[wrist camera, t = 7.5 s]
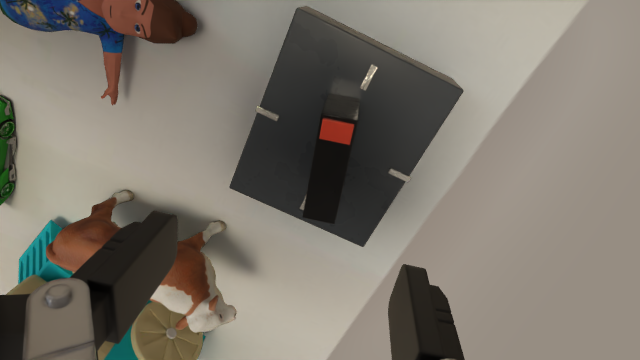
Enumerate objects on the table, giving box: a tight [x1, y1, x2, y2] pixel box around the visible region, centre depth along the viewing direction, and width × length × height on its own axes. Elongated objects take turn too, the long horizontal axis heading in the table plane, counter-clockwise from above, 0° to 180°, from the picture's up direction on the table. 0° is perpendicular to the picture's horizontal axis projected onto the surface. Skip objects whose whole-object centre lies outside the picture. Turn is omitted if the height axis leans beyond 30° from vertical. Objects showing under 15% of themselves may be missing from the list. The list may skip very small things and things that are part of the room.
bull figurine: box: [46, 190, 236, 333], centre depth 27 cm, size 4×13×8 cm, turn 67°
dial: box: [303, 93, 360, 224], centre depth 21 cm, size 6×2×4 cm, turn 170°
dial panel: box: [230, 6, 463, 247], centre depth 24 cm, size 12×10×3 cm
